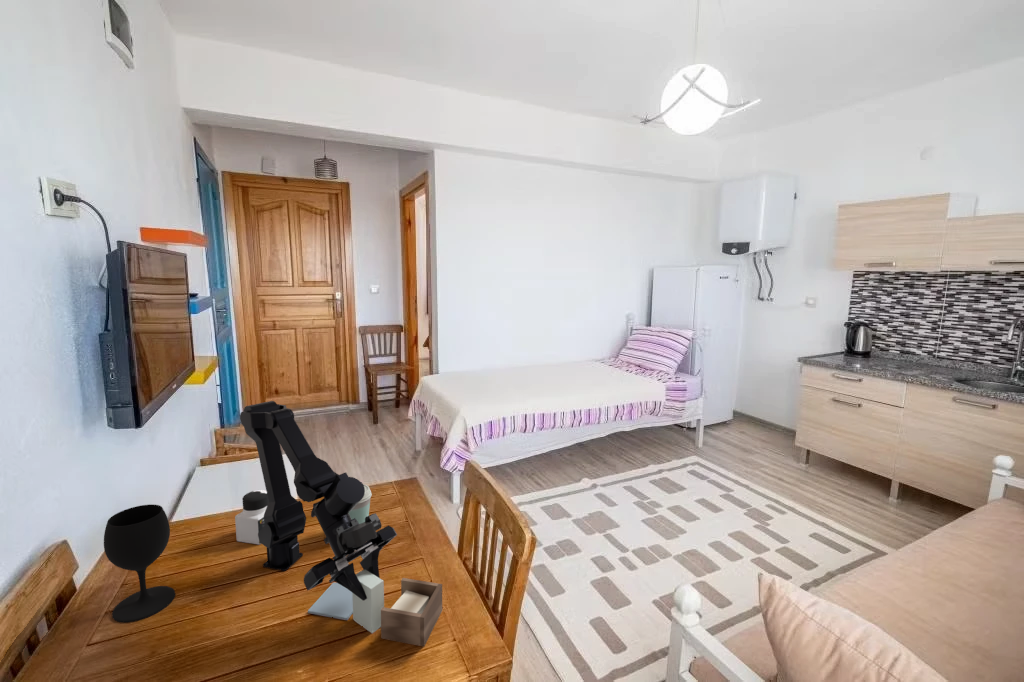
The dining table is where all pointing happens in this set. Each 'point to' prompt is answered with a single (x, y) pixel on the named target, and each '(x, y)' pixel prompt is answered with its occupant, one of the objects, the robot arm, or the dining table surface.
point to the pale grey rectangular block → (369, 601)
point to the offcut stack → (411, 602)
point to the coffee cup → (362, 507)
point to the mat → (334, 603)
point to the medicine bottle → (251, 517)
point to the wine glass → (138, 557)
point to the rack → (413, 615)
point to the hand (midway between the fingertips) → (372, 594)
